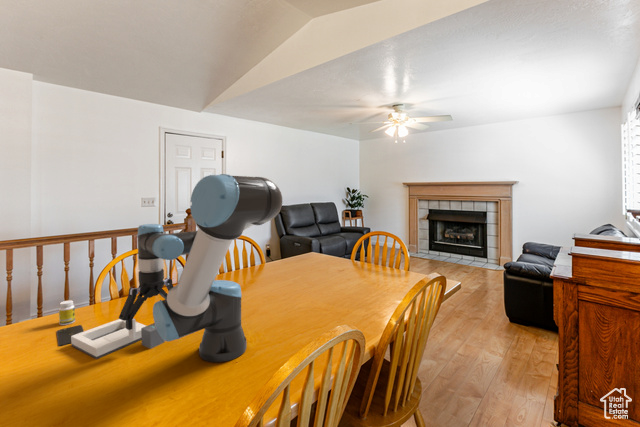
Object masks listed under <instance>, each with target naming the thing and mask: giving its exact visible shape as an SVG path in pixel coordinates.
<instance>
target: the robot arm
mask: <svg viewBox="0 0 640 427" xmlns="http://www.w3.org/2000/svg"><path fill="white" fill-rule="evenodd" d="M189 203H191V205H190V213H191V217H192V219H193V220H194V222H195V226H196V227H197V228H198V229H197V230H191V231H185V232H184V231H183V232H182V231H181V232H172V233H164V232H165V231H164V227H163V225H162V224H159V223H147V224H141V225H138V227H137V235H136V237H137V255H138V256H137V258H138V260H137V261H138V262H137V264H138V266H137V267H138V270H139V271H138V283H139V285H138V287H134V288H133V287H130V288H129V289H128V295H127V297H126V300H125V302H124V304H123V307H122V309H121V311H120V314H119V316H118V319H121V320H123V321H125V320H126V329H127V330H128V332H129V338H131V339H136V322H137V321H136V318H134V317H135V316H136V315H137V314H138V312H139V310H140V308H141V307H142V306H143V304H144V303H145V301H147V299H148V298H149V299H150V298H153V297H156V296H159V295H160V296H161V297H162V298H163V299H162V300H161V299H160V300H159V301H158V300H157V301H156V302H155V303H154V304H153V306H152V317H153V321H154V323H155V326H156V329H157V331H158V333H159V335H160V337H161V338H162V339H163V340H165V342H172V341H175V340H180V339H182V338H184V337H186V336H188V335H191V334H194V333H196V332H199V331H202V330H204V331H203V333H202V338H201V342H200V343H199V347H198V349H199V350H198V351H199V352H198V355H199V357H200V358H201V359H202V360H203V361H206V362H209V363H222V362H228V361H231V360H234V359H237V358H239V357H240V356H242V355H243V354H245V352H246V351H247V343H248V342H247V338H246V336H245V332H244V329H243V327H242V326H243V325H242V298H243V296H242V288H241V285H240V284H239V283H237V282H235V281H232V280H225V279H224V280H223V279H216V277H217V275H218V272H219V270H220V269H221V266H222V263H224V259H225V257H226V255H227V253H228V251H229V248H230V246H231V244H232V242H233V241H235V240H237V239H239V238H240V237H241V236H242V234H243V232H244V231H245V230H247V229H249V228H251V227H253V226H261V225H263V224H266V223H267V222H269V221H271V220H273V219H275V218H276V217H277V216H278V215H279V214H280V212H281V210H282V207H283V195H282V192H281V190H280V188H279V186H278V185H277V184H275V183H274V182H273V181H272V180H270V179H269V178H266V177H262V176H247V175H244V176H243V175H231V174H226V173H221V174H220V173H219V174H209V175H206V176H204V177H203V178H201V179H199V181H197V183H196V184H195V187H194V188H193V190H192V193H191V196H190V202H189ZM185 255H187V258H186V261H185V263H184V266H183V269H182V271H181V274H180V277H179V280H178V281H177V284H176V285H173V280H172V278H168V277H165V273H164V272H165V270H164V267H165V262H164V261H165V260H167V261H173V260H176V259H177V258H179V257H181V256H185ZM164 286H165V288H166V290H167V291H168V293H167V292H166V290H164V289H163V287H164Z"/></svg>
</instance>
